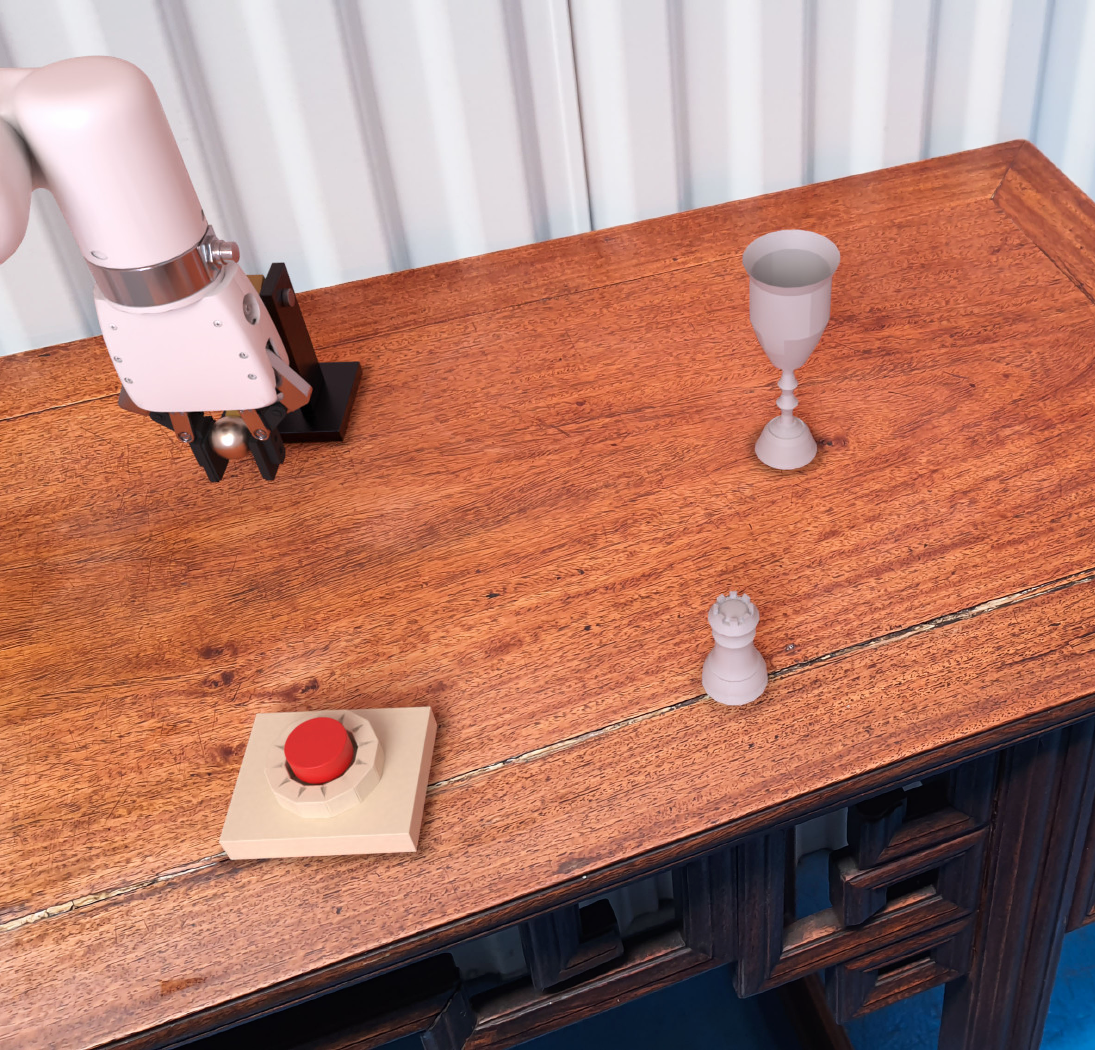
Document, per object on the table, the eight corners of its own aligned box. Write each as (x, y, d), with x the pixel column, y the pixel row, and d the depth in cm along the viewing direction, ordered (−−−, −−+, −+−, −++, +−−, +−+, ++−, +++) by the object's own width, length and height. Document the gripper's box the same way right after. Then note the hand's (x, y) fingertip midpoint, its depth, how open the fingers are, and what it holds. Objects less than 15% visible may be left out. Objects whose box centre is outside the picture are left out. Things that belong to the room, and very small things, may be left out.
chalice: (767, 409, 98) (770, 220, 85) (842, 433, 96) (856, 243, 83) (728, 463, 93) (724, 272, 80) (805, 489, 91) (814, 298, 78)
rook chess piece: (761, 714, 77) (762, 639, 71) (695, 704, 77) (690, 629, 71) (773, 660, 80) (774, 584, 74) (709, 651, 80) (705, 574, 74)
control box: (230, 860, 69) (207, 826, 67) (266, 732, 76) (247, 696, 73) (416, 852, 70) (402, 818, 67) (437, 725, 76) (425, 689, 73)
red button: (286, 785, 69) (277, 769, 68) (299, 734, 71) (291, 717, 70) (347, 783, 69) (340, 767, 68) (358, 731, 71) (351, 715, 70)
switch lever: (260, 466, 86) (243, 446, 83) (216, 467, 86) (198, 448, 83) (282, 294, 92) (267, 270, 89) (241, 295, 92) (225, 272, 89)
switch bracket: (342, 441, 95) (298, 312, 86) (218, 445, 95) (160, 316, 85) (363, 371, 101) (323, 244, 92) (246, 375, 101) (194, 247, 91)
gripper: (299, 225, 77) (367, 431, 91) (47, 232, 77) (152, 439, 90) (272, 291, 72) (348, 500, 85) (1, 299, 72) (120, 508, 85)
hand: (247, 467), depth 88 cm, fingers closed on switch lever, 3 cm apart
